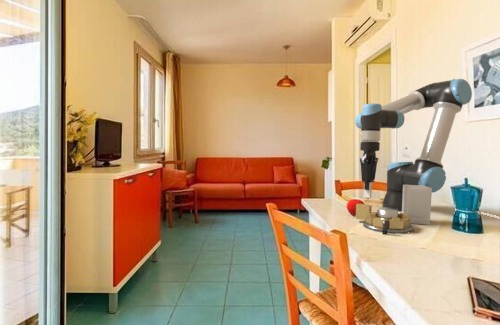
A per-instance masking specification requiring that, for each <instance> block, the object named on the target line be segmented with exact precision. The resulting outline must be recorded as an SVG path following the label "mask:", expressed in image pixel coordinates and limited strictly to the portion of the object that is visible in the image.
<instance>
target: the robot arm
mask: <svg viewBox="0 0 500 325" xmlns="http://www.w3.org/2000/svg"><path fill="white" fill-rule="evenodd" d="M472 96H473V91H472V88H471V84H470V83H469V82H468V81H467V80H466V79H464V78H457V79H456V78H452V80H451V79H450V80H444V81H439V82H432V83H429V84H426V85H424V86H422V87H420V88H417V89H415V90H413V91H410V92H409V94H407V95H406V96H404V97H401V98H399V99H397V100H394V101H392V102H389V103H387V104H384V105H382V104H381V103H366V104H363V106H362V109H361V113H358V114H357V115H356V116H355V119H354V121H355V125H356V127H357V128H358V129H360V140H361V141H360V148H359V150H360V151H362V152H363V153H362V157H360V158H359V162H360V174H361V175H360V176H361V182H363V183H364V184H363V198H366V199H367V198H368V199H371V198H372V193H373V192H372V191H373V190H372V189H373V183H375V182H376V181H375V179H376V173H377V167H378V166H377V165H378V162H379V158H378V157H377V154H376V152H378V151H380V146H381V145H380V144H381V143H380V141H381V130H382V129H399V128H401V127H403V125H404V123H405V119H406V118H405V114H407V113H410V112H412V111H414V110H415V111H419V110H421V109H426V108H433V109H434V113H433V116H432V119H431V123H430V125H429V129H428V132H427V135H426V138H425V140H424V144H423V147H422V150H421V153H420V156H419V157H417V158H416V159H415V160H414V161H398V162H397V161H396V162H390V163H388V165H387V170H386V192H385V195H384V198H383V200H382V203H381V205H382V207H387V208H394V209H397V210H398V212H402V198H403V185H424V186H427V187H429V188H432V193H436V192H438V191H439V190H441V189H442V188H443V187H444V185H445V184H446V183H445V182H446V179H447V176H446V175H447V174H446V171H445V170H444V165H443V164H442V159H443V157H444V153H445V149H446V146H447V144H448V140H449V137H450V135H451V134H450V133H451V131H452V128H453V124H454V120H455V118H456V115H457V114H458V113H459V112H461V111H462V108H463V106H464V105H467V104H469V103H470V102H471V100H472Z"/></svg>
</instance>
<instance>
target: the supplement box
mask: <svg viewBox="0 0 500 325" xmlns="http://www.w3.org/2000/svg"><path fill="white" fill-rule="evenodd" d="M432 193H433V192H432V188H429V187H427V186H424V185H403V198H402V211H401V213H406V214H408V217H410V225H411V224H412V225H414V224H415V225H429V226H430V225H431V215H432V214H431V210H432Z"/></svg>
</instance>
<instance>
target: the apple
mask: <svg viewBox="0 0 500 325" xmlns="http://www.w3.org/2000/svg"><path fill="white" fill-rule="evenodd" d="M356 204H365V203H364V201H363V200H361V199H359V198H358V199H357V198H356V199H352V198H351V199H350V200H348V201H347V203H346V210H347V212H348V213H349V214H350V215H351V216H353V217H356Z"/></svg>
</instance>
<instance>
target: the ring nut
mask: <svg viewBox="0 0 500 325" xmlns="http://www.w3.org/2000/svg"><path fill="white" fill-rule="evenodd" d="M372 208H373V205H372V204H365V203H364V204H356V216H355V219H356V220H362V221H365V220H366V222H367V223H368V224H370V225H373V226H376V227H381V228H383V220H388V225H387V228H389V229H403V228H404V229H406V228H408V227H409V226H410V225H411V224H410V217H408V214H406V213H402V212H399V213H398V217H391V219H384V218H378V209H377V210H376V211H372V210H373V209H372Z"/></svg>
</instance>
